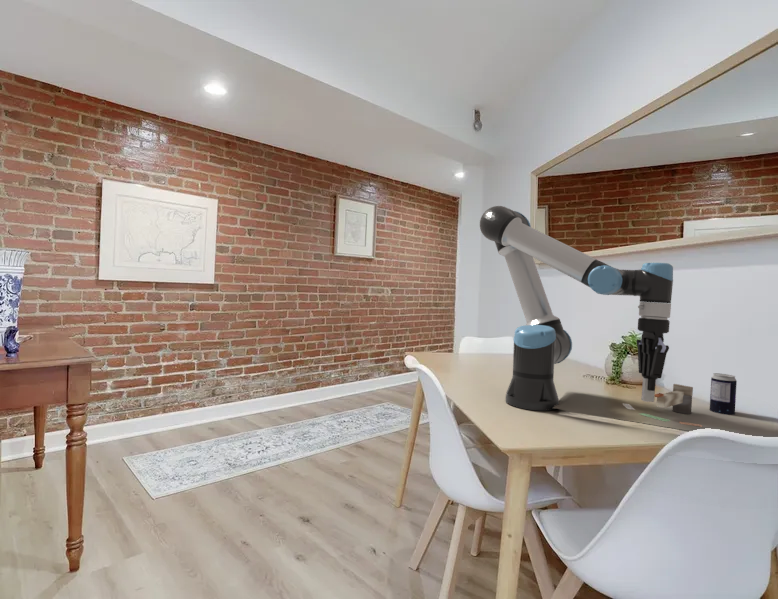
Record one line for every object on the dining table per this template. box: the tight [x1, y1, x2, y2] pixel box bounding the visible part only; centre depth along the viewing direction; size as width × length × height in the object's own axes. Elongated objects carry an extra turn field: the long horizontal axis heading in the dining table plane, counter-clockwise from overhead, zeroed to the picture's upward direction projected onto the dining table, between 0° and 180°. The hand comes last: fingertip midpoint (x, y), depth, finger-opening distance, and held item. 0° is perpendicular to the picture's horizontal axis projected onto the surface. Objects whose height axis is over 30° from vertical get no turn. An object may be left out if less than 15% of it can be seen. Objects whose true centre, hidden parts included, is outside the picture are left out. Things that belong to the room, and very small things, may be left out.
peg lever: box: [654, 383, 694, 415], centre depth 115 cm, size 18×4×7 cm, turn 125°
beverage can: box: [709, 373, 738, 416], centre depth 121 cm, size 6×6×12 cm
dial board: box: [613, 403, 703, 432], centre depth 117 cm, size 20×18×1 cm
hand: (647, 400), depth 120 cm, fingers closed
